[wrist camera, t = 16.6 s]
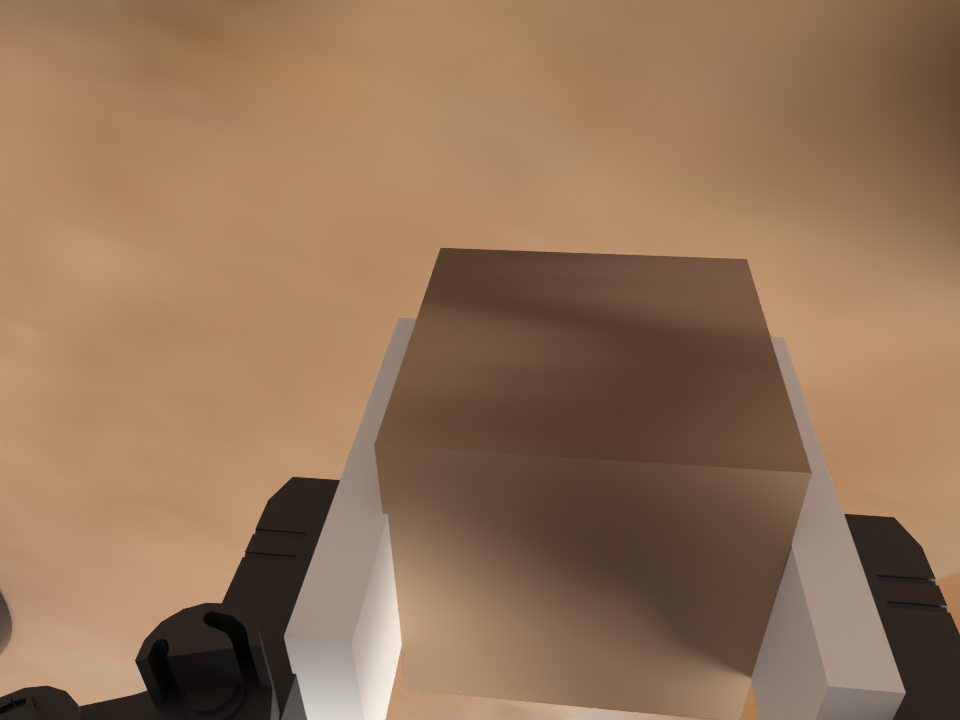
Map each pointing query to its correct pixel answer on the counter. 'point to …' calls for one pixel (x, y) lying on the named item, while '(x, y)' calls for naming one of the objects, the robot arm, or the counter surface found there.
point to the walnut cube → (589, 481)
